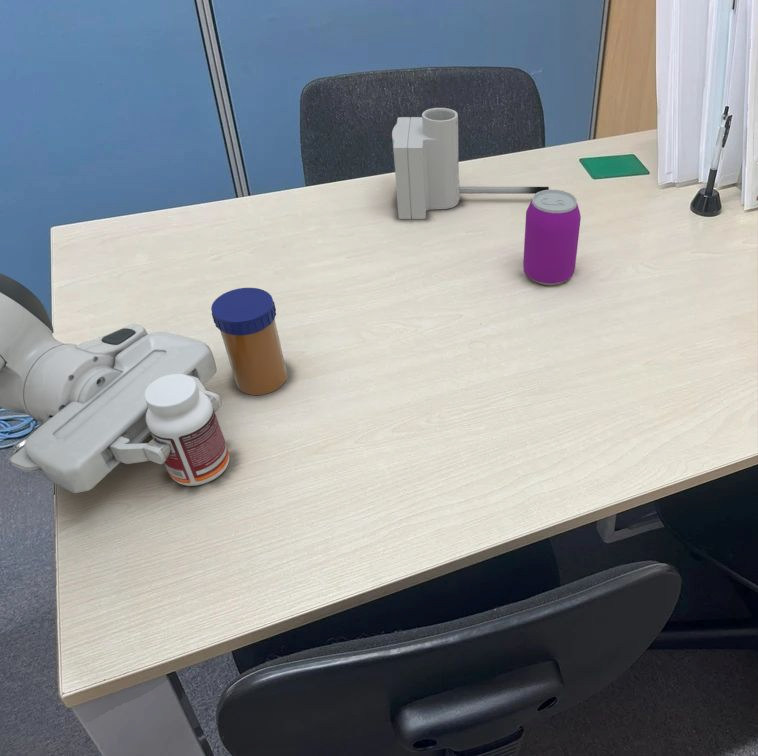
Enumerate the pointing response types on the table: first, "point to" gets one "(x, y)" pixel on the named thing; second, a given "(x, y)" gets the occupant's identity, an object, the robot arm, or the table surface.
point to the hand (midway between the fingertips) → (192, 428)
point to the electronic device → (432, 165)
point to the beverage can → (551, 237)
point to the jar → (256, 360)
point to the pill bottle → (186, 429)
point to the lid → (243, 311)
